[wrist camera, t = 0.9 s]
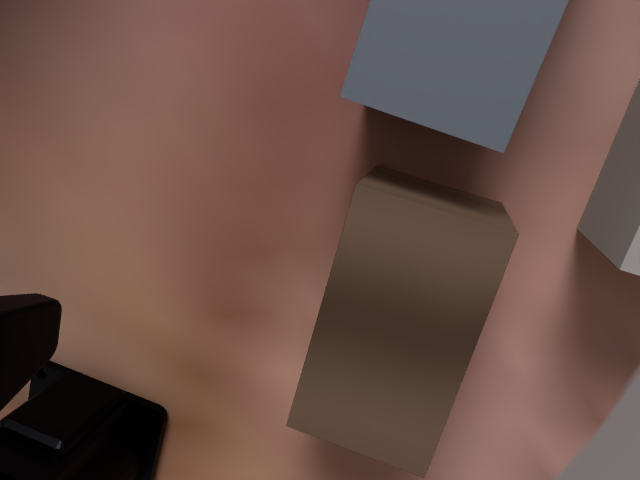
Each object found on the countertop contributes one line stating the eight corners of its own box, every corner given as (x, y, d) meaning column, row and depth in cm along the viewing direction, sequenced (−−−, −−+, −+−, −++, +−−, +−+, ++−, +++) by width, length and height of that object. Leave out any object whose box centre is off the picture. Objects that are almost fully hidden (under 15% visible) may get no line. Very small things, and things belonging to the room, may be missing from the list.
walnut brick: (429, 395, 21) (423, 478, 17) (320, 356, 22) (286, 425, 17) (501, 202, 19) (519, 234, 14) (377, 165, 20) (355, 184, 15)
